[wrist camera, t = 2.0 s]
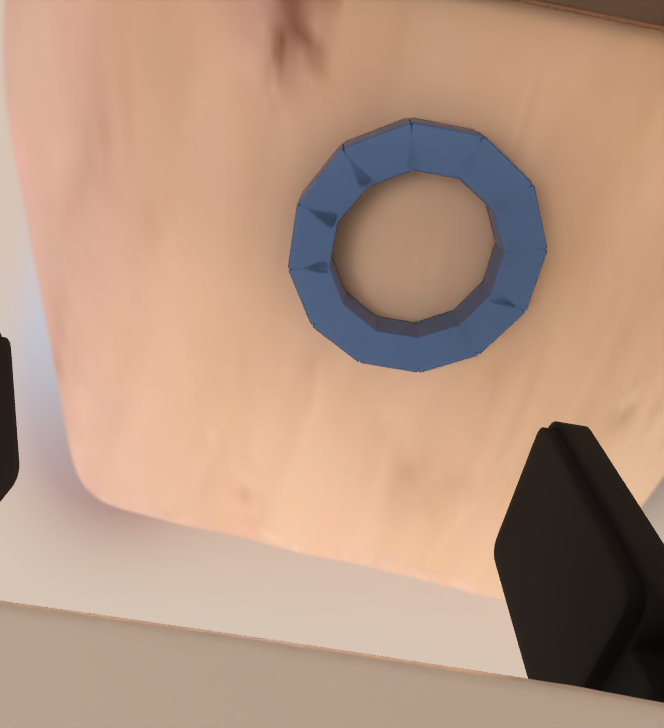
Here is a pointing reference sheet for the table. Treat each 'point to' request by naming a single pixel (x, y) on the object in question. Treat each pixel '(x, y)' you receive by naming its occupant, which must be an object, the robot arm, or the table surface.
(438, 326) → the ring
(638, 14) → the rack
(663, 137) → the table surface
